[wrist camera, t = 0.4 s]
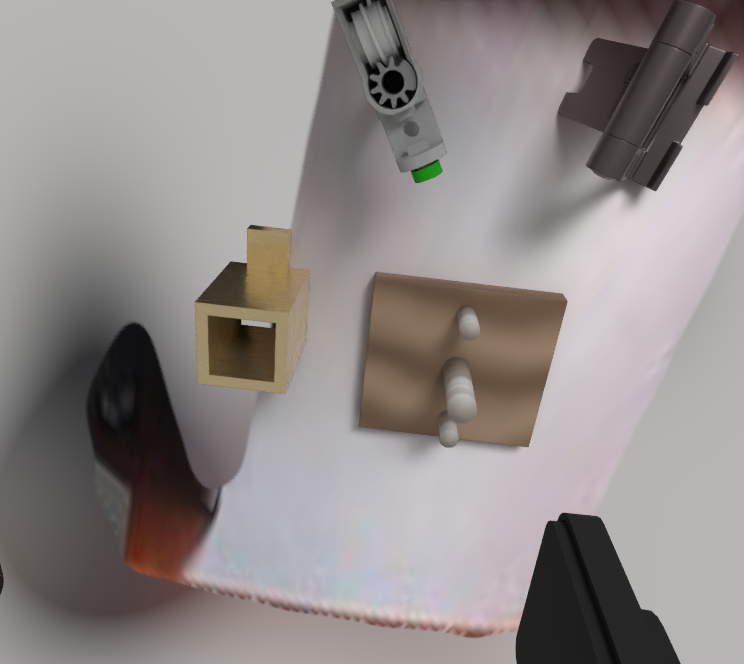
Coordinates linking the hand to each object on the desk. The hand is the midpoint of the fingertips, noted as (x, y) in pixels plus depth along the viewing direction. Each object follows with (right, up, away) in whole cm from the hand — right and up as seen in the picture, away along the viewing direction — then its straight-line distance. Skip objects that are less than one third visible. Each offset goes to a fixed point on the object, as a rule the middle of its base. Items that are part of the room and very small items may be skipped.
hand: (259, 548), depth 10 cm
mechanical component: (+3, +20, +28) cm, 35 cm away
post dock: (+8, +1, +36) cm, 37 cm away
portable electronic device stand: (+18, +19, +28) cm, 38 cm away
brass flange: (-6, +6, +35) cm, 36 cm away
